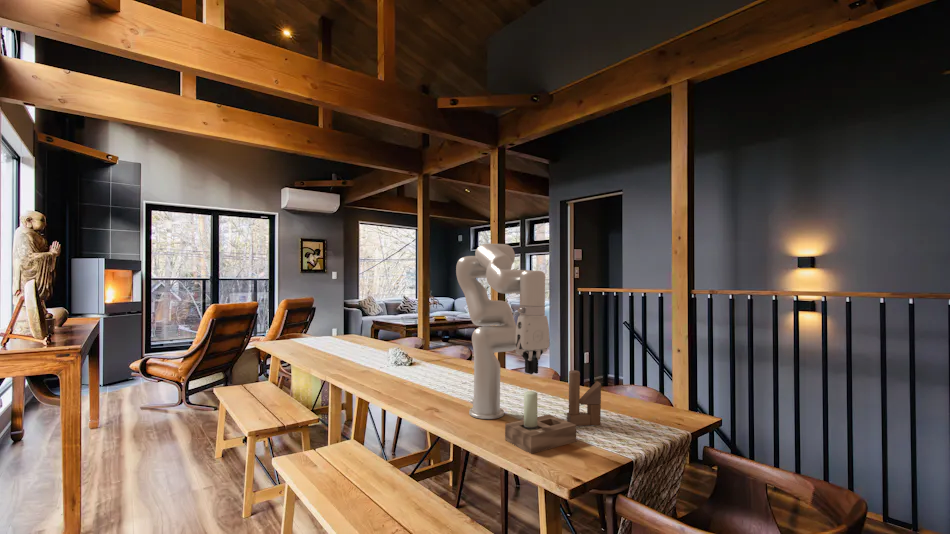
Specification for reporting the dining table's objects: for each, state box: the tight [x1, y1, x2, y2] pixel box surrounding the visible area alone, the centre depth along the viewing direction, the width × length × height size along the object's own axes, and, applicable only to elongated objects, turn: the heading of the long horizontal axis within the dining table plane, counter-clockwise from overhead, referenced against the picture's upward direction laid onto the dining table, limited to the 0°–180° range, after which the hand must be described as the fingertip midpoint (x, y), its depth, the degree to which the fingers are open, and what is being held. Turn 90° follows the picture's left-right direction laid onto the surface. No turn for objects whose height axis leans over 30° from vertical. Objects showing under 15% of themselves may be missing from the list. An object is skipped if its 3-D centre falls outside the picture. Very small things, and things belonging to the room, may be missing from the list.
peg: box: [523, 390, 538, 431], centre depth 134 cm, size 4×4×14 cm
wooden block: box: [566, 369, 602, 427], centre depth 153 cm, size 4×11×18 cm, turn 98°
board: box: [504, 414, 577, 455], centre depth 136 cm, size 12×18×5 cm, turn 124°
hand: (531, 372), depth 135 cm, fingers closed
